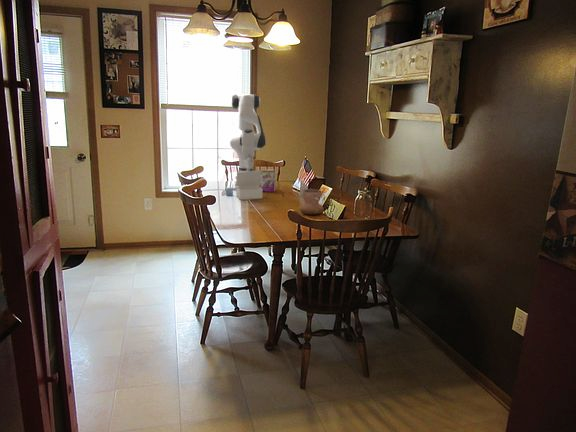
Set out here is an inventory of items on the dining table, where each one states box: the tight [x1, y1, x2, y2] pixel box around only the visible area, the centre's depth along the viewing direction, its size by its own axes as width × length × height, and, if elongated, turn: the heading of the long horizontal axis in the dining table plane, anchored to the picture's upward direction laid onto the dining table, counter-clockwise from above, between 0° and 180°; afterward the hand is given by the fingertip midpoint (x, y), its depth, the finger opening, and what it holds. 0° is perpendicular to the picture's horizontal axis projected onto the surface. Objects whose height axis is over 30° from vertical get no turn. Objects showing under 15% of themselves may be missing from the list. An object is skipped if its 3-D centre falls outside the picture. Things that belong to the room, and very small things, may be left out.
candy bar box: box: [259, 168, 276, 193], centre depth 330 cm, size 11×5×16 cm, turn 84°
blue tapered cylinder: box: [225, 186, 234, 197], centre depth 317 cm, size 5×5×5 cm
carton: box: [235, 185, 263, 201], centre depth 308 cm, size 12×16×7 cm
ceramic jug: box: [299, 188, 325, 216], centre depth 266 cm, size 18×14×14 cm
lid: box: [235, 169, 261, 187], centre depth 308 cm, size 13×17×2 cm
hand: (248, 173), depth 307 cm, fingers closed
